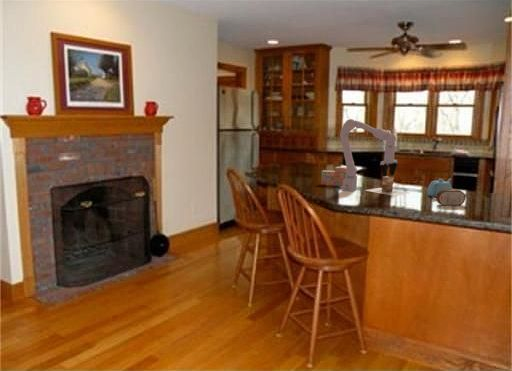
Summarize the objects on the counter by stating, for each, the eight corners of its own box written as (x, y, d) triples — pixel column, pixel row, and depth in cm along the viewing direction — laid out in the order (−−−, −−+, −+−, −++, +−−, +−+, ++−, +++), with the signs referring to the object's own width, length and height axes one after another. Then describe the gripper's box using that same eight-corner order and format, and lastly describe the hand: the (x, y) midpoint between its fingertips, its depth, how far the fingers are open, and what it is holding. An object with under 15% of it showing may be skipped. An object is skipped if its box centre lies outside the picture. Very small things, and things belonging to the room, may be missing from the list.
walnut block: (392, 191, 269) (392, 184, 268) (388, 192, 266) (388, 185, 266) (386, 190, 273) (386, 183, 272) (381, 191, 270) (382, 184, 269)
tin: (462, 204, 237) (464, 189, 236) (465, 206, 234) (467, 190, 233) (435, 204, 237) (436, 189, 235) (437, 205, 234) (439, 190, 232)
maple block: (393, 184, 268) (393, 177, 267) (388, 185, 265) (389, 177, 264) (386, 183, 272) (387, 176, 271) (382, 184, 269) (382, 176, 268)
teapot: (460, 179, 256) (443, 181, 246) (459, 197, 258) (441, 200, 248) (441, 176, 266) (423, 178, 256) (439, 193, 268) (421, 196, 258)
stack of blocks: (320, 185, 295) (321, 166, 293) (322, 183, 300) (323, 165, 298) (352, 187, 287) (353, 168, 285) (354, 185, 293) (355, 167, 291)
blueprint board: (410, 193, 266) (410, 192, 266) (395, 196, 256) (395, 195, 256) (379, 188, 283) (379, 187, 283) (364, 191, 273) (364, 190, 273)
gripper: (388, 154, 258) (386, 177, 260) (402, 153, 267) (400, 175, 269) (378, 153, 263) (376, 176, 265) (392, 152, 272) (390, 174, 274)
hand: (388, 175), depth 268 cm, fingers open, 7 cm apart
